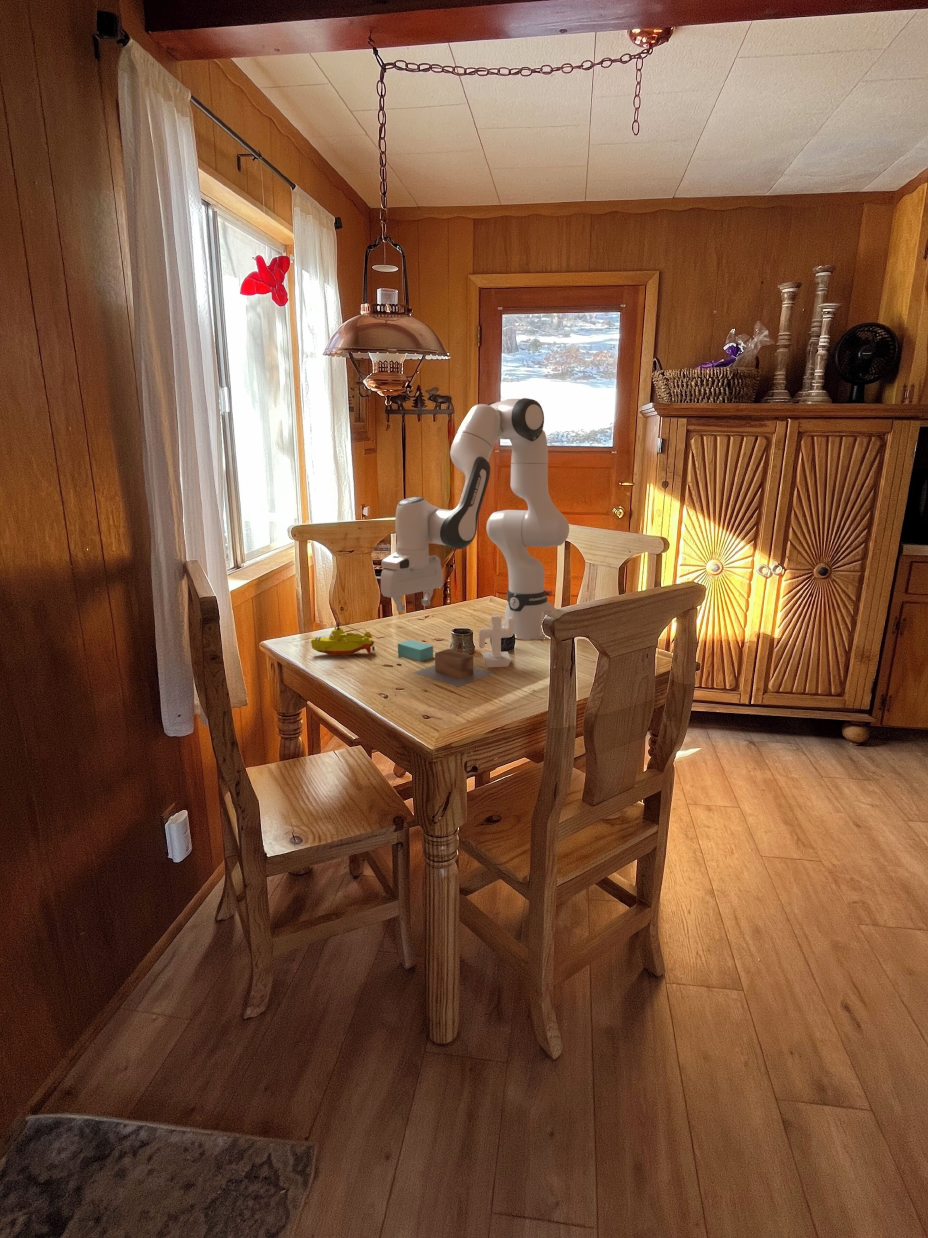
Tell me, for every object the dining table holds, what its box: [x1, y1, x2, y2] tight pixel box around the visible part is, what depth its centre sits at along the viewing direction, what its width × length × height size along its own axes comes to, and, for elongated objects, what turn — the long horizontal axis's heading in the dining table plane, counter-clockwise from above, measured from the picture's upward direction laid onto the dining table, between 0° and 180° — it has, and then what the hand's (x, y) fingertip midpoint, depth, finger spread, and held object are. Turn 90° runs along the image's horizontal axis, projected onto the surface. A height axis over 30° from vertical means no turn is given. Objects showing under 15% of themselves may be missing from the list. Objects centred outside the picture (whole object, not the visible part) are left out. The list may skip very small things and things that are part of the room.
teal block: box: [397, 639, 434, 663], centre depth 196 cm, size 5×9×5 cm, turn 47°
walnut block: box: [434, 648, 474, 679], centre depth 182 cm, size 5×9×5 cm, turn 47°
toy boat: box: [310, 621, 376, 657], centre depth 202 cm, size 6×18×10 cm, turn 94°
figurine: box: [478, 614, 514, 668], centre depth 188 cm, size 7×9×15 cm
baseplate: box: [413, 665, 495, 688], centre depth 183 cm, size 14×16×2 cm
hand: (413, 608), depth 193 cm, fingers open, 8 cm apart
